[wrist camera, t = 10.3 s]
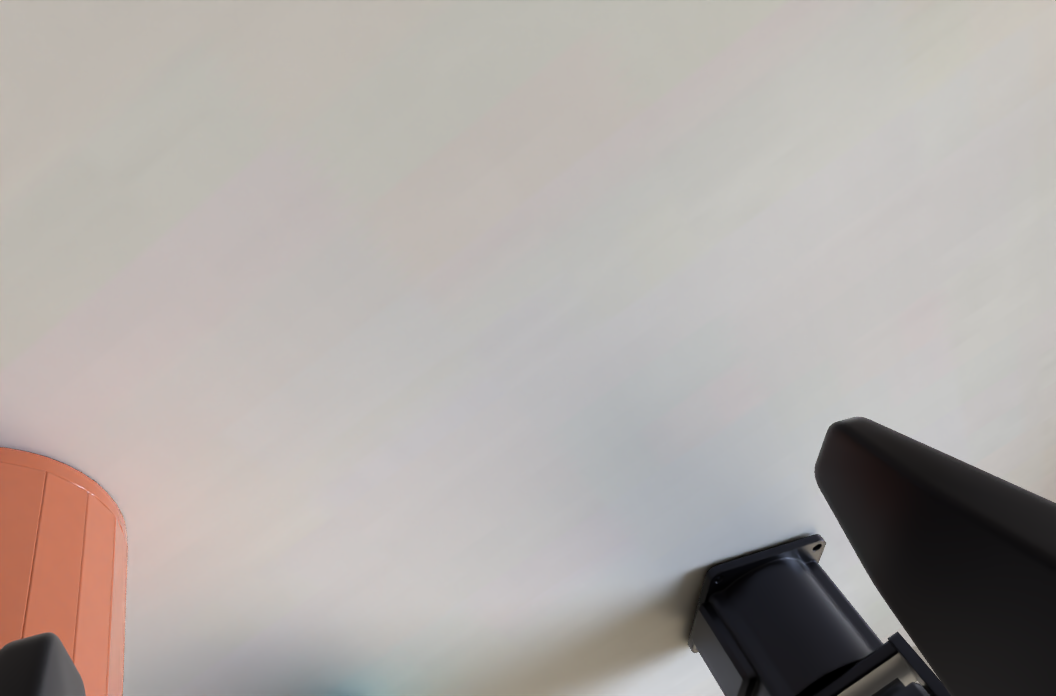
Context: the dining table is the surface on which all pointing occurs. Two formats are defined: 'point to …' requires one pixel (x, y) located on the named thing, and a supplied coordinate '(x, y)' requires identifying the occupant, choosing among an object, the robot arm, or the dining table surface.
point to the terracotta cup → (63, 565)
